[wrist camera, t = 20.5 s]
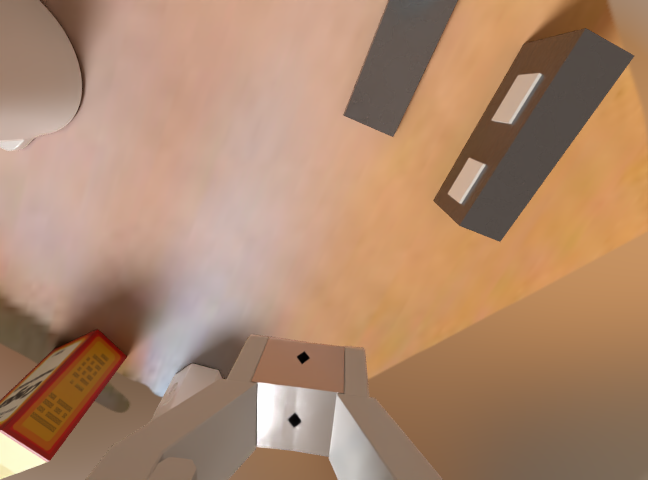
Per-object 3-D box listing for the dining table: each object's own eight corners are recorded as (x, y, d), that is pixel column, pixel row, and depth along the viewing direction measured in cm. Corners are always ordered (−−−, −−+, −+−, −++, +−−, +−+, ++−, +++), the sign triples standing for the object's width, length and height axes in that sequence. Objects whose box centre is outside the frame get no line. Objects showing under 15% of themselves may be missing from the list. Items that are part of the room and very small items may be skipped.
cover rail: (343, 115, 34) (343, 115, 33) (402, -37, 28) (405, -41, 27) (391, 135, 35) (393, 136, 34) (458, -7, 29) (462, -10, 28)
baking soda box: (84, 375, 51) (-10, 485, 37) (53, 349, 49) (-60, 457, 34) (127, 356, 49) (46, 464, 35) (97, 329, 47) (-3, 433, 32)
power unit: (431, 199, 38) (456, 224, 31) (521, 42, 31) (582, 26, 24) (467, 214, 39) (500, 241, 32) (563, 64, 32) (634, 55, 24)
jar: (200, 355, 49) (166, 428, 39) (236, 382, 52) (214, 457, 41) (165, 379, 52) (123, 454, 41) (201, 404, 55) (171, 480, 44)
